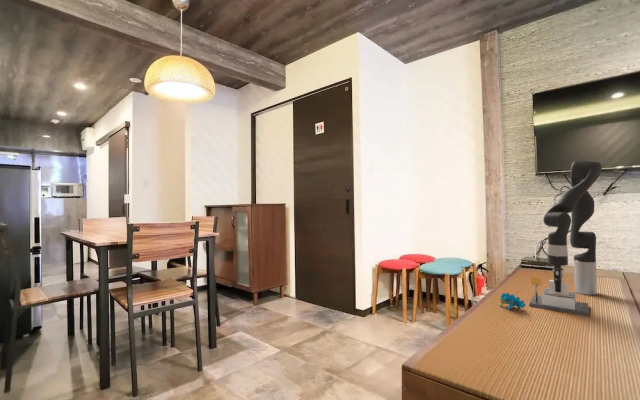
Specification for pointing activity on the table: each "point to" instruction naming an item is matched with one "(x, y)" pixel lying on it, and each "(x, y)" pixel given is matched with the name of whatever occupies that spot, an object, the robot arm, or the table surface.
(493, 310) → the table surface
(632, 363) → the table surface
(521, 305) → the blue bumpy plastic figure
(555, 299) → the rack
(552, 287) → the block
